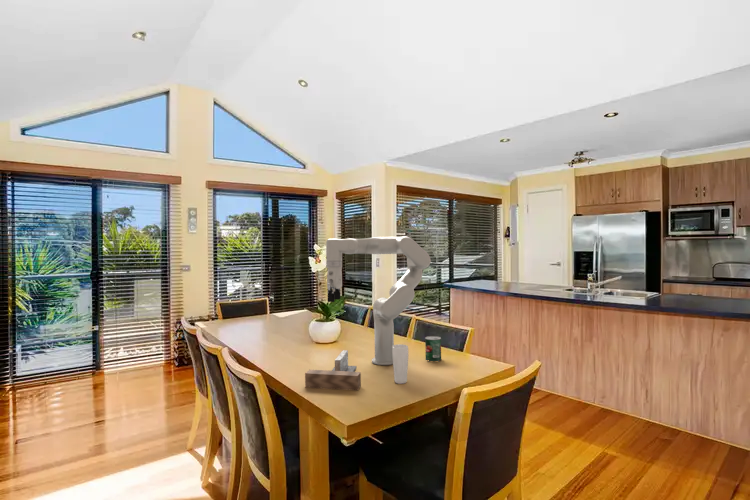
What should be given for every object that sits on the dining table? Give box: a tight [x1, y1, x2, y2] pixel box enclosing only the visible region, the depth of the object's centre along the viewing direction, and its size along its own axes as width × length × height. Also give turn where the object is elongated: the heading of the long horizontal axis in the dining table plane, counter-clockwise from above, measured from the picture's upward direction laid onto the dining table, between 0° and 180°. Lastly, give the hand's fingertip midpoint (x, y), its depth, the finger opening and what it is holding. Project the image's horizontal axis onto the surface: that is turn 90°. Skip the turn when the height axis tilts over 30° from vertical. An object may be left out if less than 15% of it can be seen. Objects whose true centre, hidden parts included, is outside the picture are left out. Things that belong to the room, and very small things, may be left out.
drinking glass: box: [392, 343, 409, 385], centre depth 161 cm, size 7×7×15 cm
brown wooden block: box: [304, 369, 362, 391], centre depth 157 cm, size 22×5×6 cm, turn 79°
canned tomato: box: [424, 335, 442, 362], centre depth 193 cm, size 8×8×11 cm
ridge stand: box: [331, 349, 357, 372], centre depth 172 cm, size 10×18×8 cm, turn 172°
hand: (334, 300), depth 183 cm, fingers open, 9 cm apart
